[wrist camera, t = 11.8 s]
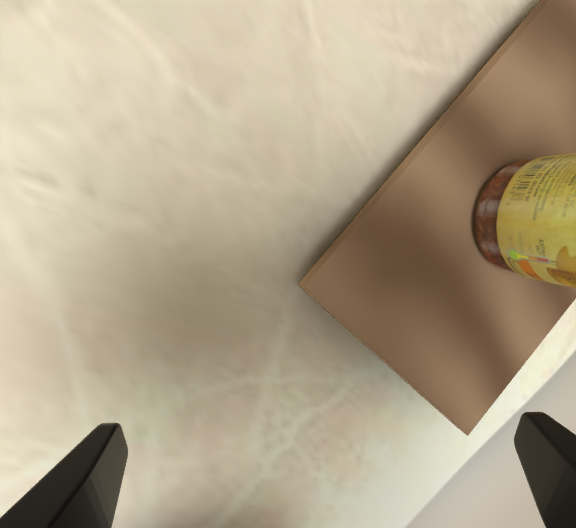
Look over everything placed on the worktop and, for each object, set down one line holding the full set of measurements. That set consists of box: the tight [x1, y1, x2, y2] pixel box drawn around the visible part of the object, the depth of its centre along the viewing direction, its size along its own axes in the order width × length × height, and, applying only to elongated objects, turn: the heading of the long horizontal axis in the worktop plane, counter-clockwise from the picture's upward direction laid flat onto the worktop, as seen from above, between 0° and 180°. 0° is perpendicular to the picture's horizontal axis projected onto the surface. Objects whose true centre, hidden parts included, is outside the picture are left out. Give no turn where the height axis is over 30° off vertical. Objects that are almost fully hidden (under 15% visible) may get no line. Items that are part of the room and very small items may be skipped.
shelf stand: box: [298, 0, 576, 435], centre depth 24 cm, size 22×14×3 cm, turn 137°
